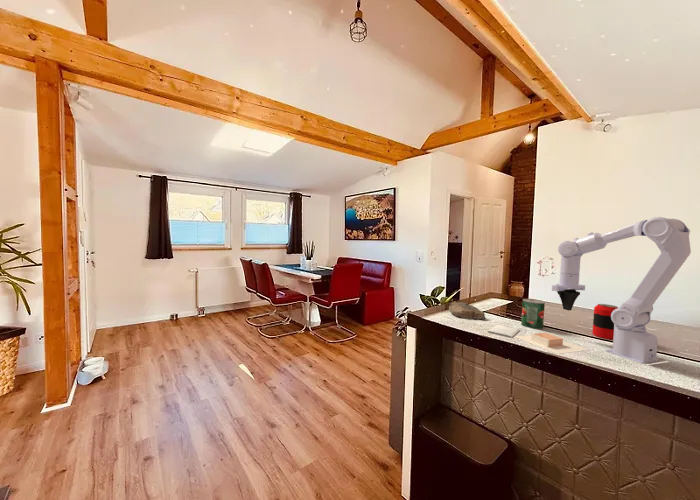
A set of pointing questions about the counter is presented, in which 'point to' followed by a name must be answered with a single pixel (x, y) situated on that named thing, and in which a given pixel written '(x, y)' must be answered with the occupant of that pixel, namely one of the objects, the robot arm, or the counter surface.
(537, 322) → the canned tomato
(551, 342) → the terracotta tile
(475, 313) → the brown rock
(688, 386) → the counter surface
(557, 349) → the felt mat
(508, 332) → the hard drive
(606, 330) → the soda can
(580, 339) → the counter surface
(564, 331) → the counter surface
